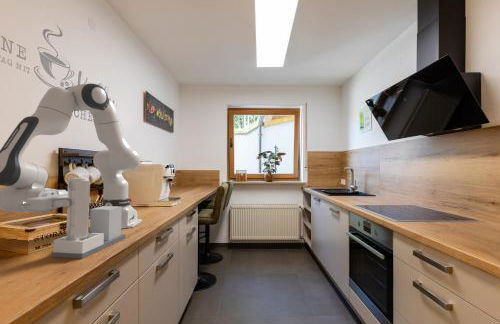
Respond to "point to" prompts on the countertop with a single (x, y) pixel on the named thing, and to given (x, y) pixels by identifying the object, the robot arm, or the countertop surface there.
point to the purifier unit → (93, 234)
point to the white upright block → (78, 209)
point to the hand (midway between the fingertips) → (80, 201)
